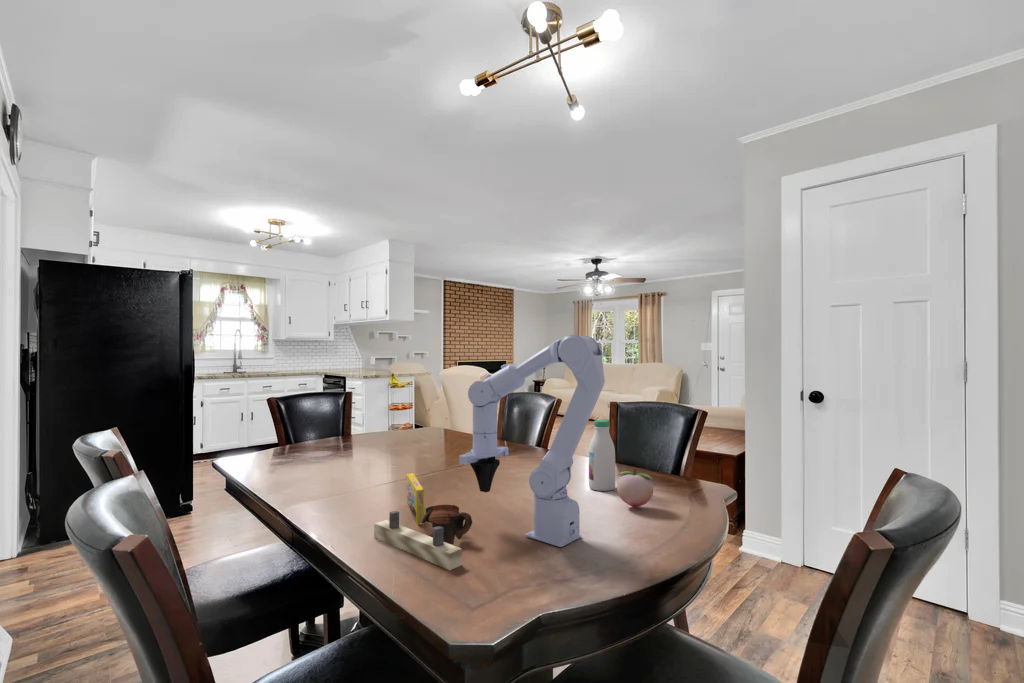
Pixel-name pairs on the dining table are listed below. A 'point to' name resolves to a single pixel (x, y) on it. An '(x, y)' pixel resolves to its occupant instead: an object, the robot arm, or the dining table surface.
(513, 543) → the dining table surface
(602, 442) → the milk bottle
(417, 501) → the candy box
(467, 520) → the pottery mug
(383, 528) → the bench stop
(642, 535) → the dining table surface
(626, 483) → the decorative fruit
